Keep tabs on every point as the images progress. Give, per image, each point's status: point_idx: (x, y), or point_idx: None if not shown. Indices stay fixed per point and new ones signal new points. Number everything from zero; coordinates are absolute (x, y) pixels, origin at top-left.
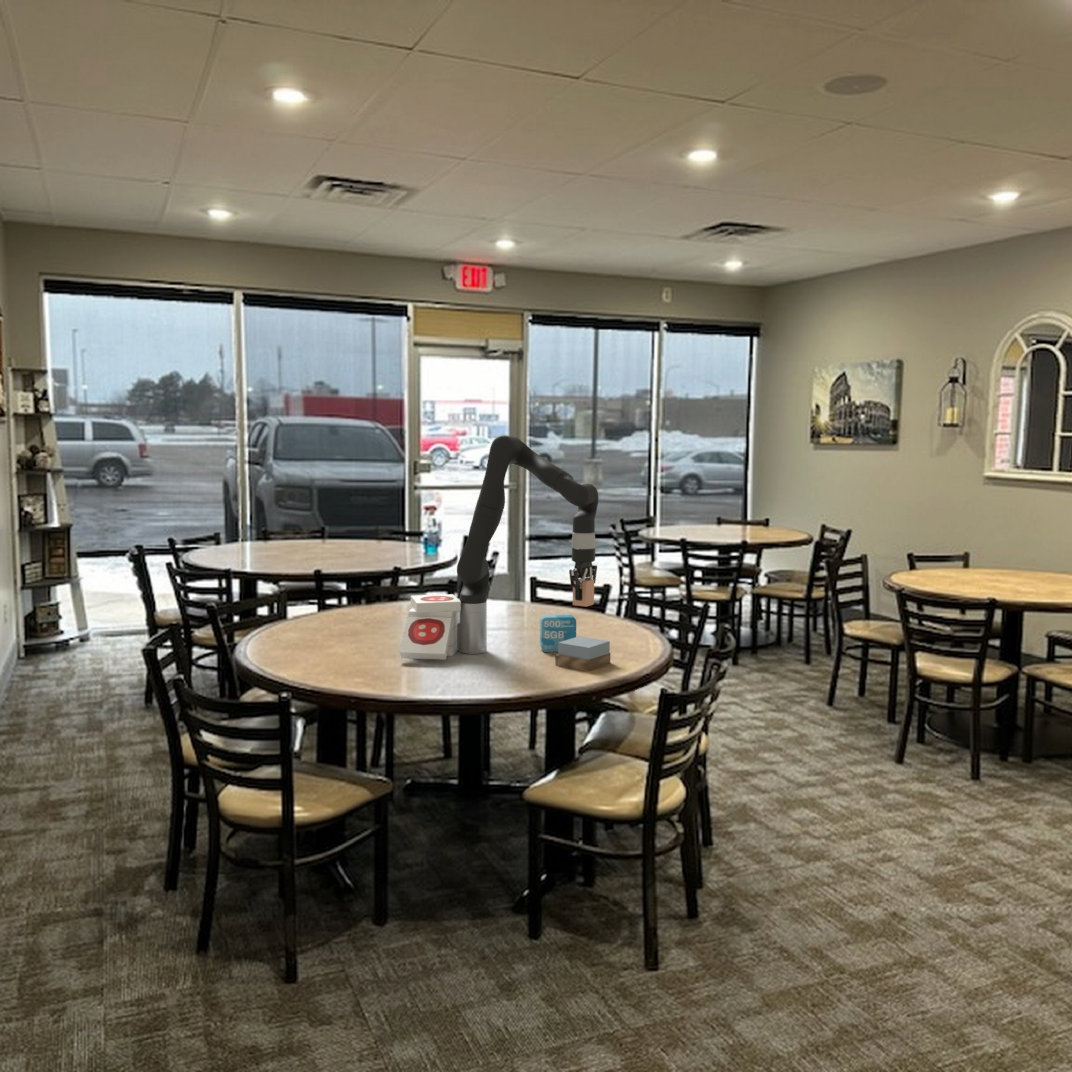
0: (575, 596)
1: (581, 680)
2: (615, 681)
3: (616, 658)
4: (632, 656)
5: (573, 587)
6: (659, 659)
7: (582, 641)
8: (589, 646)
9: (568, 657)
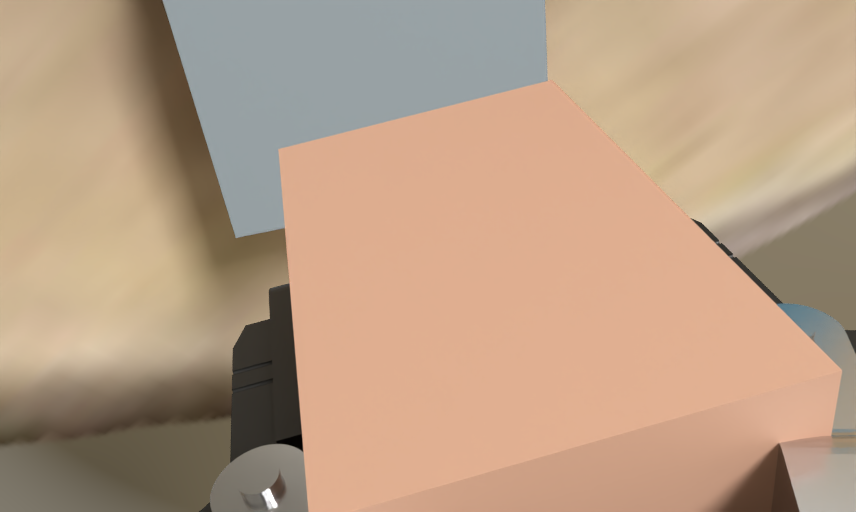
0: (235, 360)
1: (23, 295)
2: (195, 402)
3: (647, 34)
4: (757, 68)
5: (298, 377)
6: (770, 221)
7: (371, 26)
8: (272, 208)
9: (164, 8)
